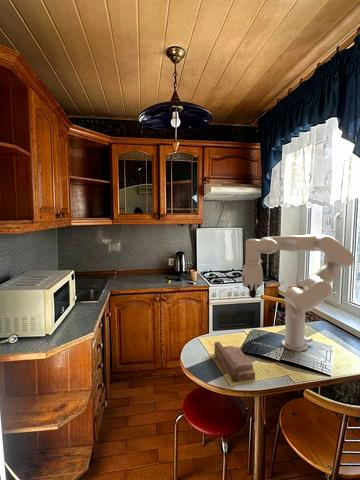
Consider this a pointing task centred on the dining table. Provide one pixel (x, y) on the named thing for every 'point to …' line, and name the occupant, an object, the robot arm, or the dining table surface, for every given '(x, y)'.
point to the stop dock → (232, 365)
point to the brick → (239, 359)
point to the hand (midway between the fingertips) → (252, 297)
